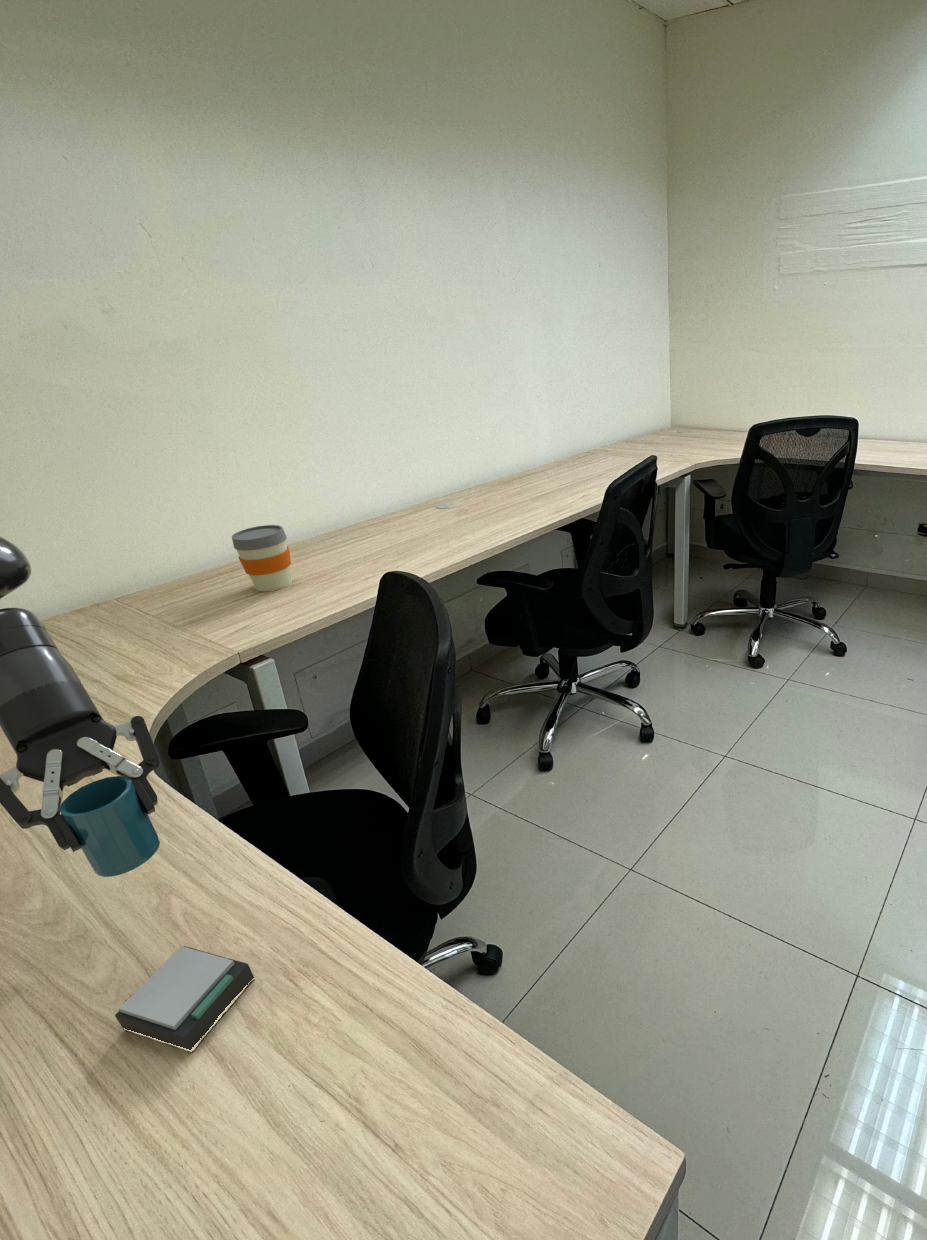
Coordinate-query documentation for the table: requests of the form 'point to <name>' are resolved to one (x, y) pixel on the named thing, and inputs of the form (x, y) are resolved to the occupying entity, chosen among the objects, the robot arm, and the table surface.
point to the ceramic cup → (111, 825)
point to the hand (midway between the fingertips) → (115, 828)
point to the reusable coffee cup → (264, 556)
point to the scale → (184, 997)
